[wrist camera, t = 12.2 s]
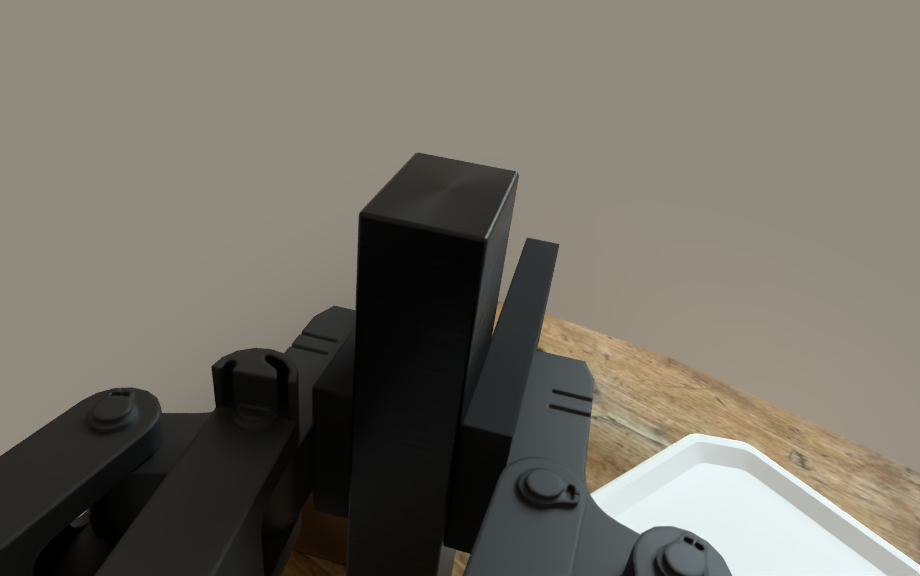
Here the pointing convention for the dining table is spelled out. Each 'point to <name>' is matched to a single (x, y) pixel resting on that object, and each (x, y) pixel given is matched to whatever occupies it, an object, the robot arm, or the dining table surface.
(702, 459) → the plate
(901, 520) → the dining table surface
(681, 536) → the robot arm
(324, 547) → the knife block
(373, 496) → the knife
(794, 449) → the dining table surface
